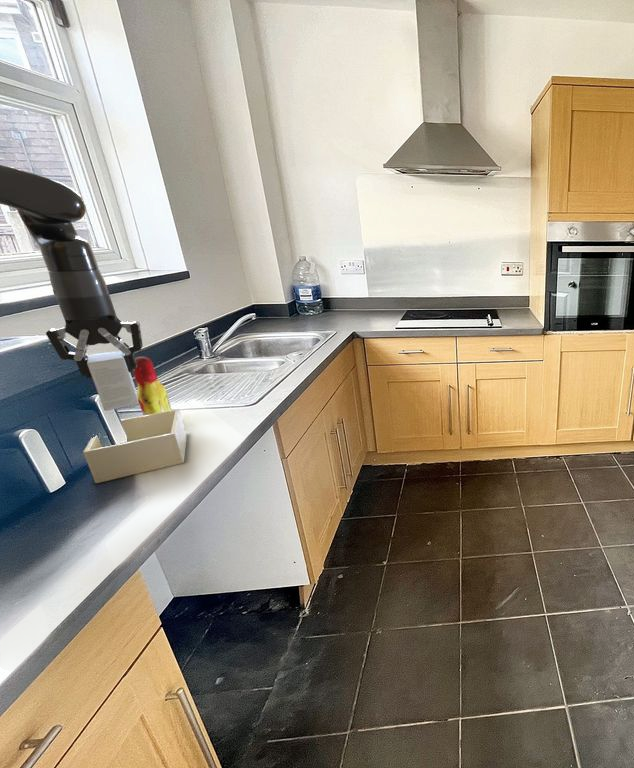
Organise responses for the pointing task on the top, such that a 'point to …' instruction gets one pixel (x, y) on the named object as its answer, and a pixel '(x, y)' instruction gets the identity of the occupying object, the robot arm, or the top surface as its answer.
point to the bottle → (150, 388)
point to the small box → (112, 380)
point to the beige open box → (139, 447)
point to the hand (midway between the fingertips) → (111, 373)
